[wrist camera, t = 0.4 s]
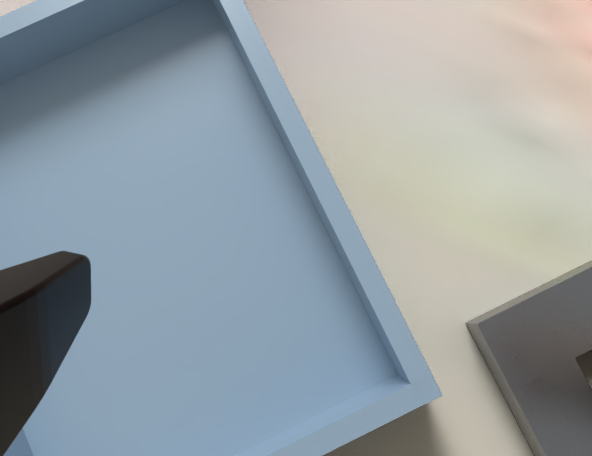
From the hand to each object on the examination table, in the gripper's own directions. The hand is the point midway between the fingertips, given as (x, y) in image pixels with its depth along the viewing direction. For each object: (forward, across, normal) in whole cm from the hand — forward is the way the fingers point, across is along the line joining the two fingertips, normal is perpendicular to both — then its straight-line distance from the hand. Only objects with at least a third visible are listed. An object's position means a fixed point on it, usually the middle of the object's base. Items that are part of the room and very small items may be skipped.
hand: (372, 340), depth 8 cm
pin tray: (+13, +8, +7) cm, 17 cm away
